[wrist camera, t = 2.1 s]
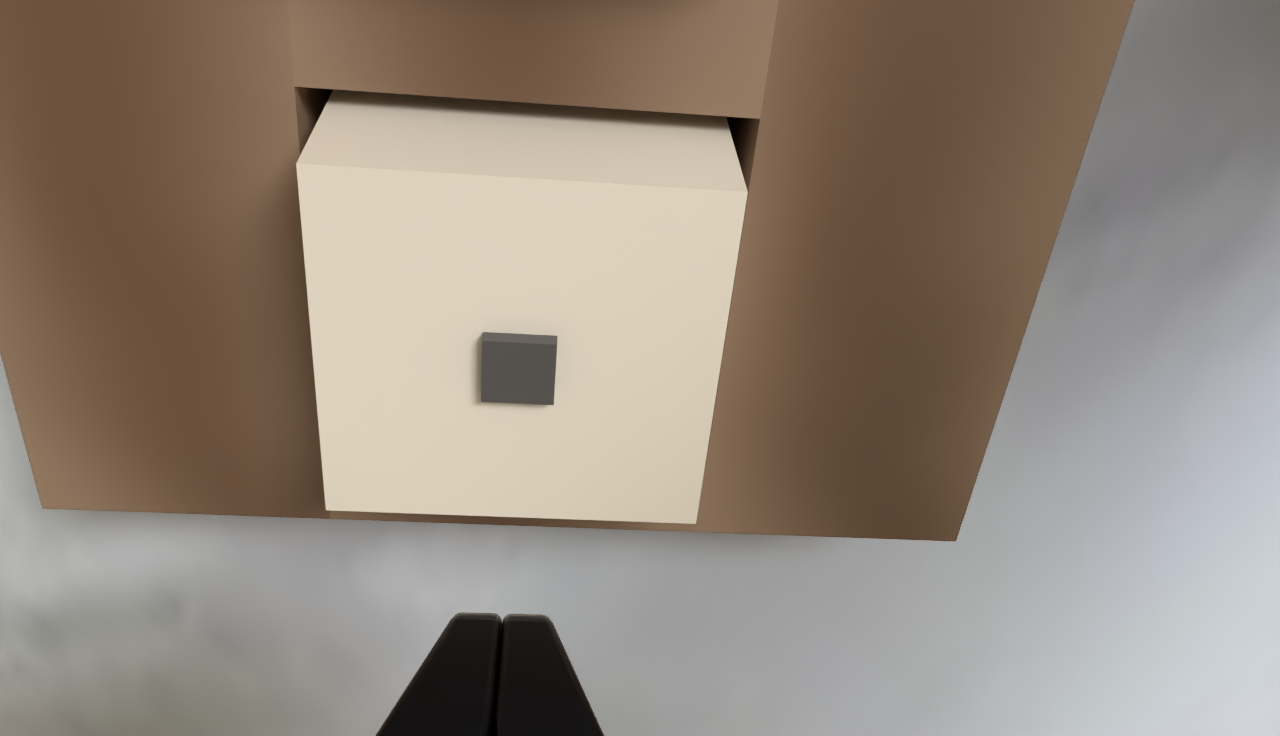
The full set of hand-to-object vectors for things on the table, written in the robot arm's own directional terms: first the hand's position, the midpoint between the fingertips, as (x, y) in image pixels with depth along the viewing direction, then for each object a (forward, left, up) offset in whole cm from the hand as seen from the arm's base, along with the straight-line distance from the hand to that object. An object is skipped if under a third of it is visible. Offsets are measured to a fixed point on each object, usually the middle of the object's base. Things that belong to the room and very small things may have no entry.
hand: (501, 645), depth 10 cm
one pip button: (0, 0, -8) cm, 8 cm away
